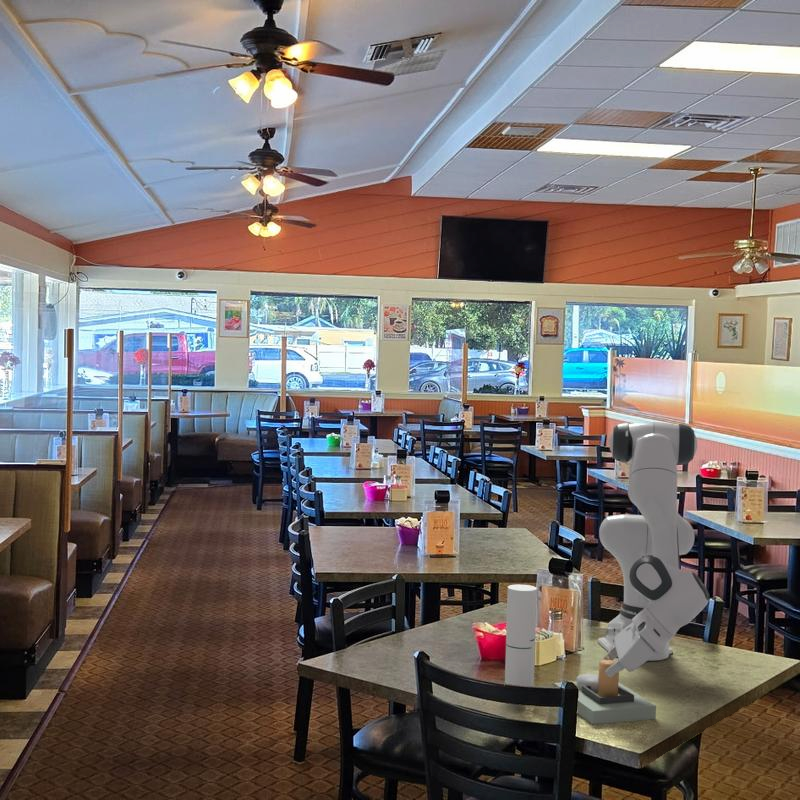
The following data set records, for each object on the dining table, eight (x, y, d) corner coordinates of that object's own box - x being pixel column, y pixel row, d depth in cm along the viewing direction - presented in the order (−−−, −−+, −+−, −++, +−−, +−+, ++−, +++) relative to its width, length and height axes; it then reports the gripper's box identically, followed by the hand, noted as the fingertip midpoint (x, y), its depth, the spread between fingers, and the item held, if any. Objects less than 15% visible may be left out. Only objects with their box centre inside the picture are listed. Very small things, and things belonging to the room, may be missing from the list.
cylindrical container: (539, 687, 245) (542, 587, 244) (522, 694, 240) (525, 592, 239) (515, 681, 250) (518, 583, 249) (498, 687, 245) (501, 587, 244)
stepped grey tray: (553, 695, 240) (554, 674, 240) (612, 690, 244) (613, 670, 244) (592, 724, 221) (593, 702, 221) (655, 718, 225) (656, 697, 225)
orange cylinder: (594, 694, 232) (595, 660, 232) (611, 692, 234) (613, 659, 233) (603, 700, 228) (604, 666, 228) (621, 699, 229) (622, 665, 229)
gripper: (636, 608, 239) (594, 645, 241) (645, 630, 219) (598, 671, 221) (655, 627, 239) (612, 665, 240) (665, 651, 218) (618, 692, 220)
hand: (606, 668), depth 230 cm, fingers open, 8 cm apart
